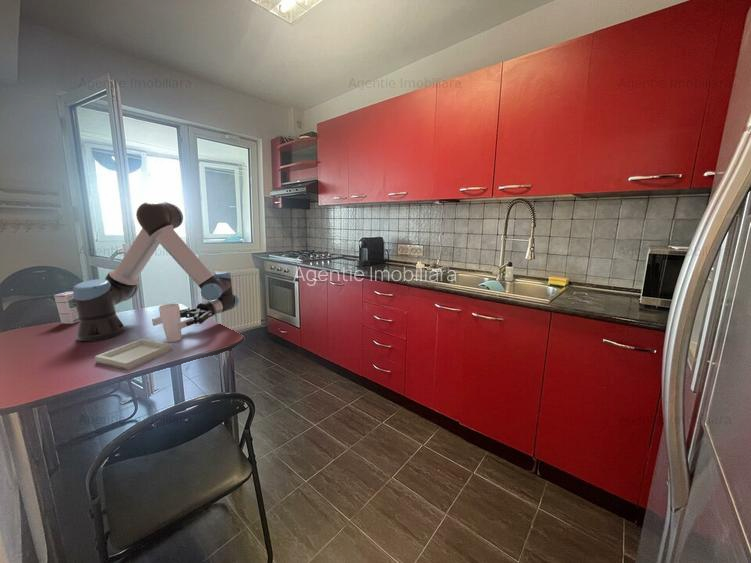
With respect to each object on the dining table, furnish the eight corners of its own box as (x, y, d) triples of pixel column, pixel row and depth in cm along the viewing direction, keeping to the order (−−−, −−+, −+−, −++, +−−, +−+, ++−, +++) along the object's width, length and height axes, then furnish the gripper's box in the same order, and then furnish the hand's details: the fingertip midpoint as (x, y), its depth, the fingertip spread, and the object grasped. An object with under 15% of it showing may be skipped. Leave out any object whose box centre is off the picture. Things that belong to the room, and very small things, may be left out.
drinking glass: (187, 338, 125) (182, 304, 122) (172, 344, 119) (166, 309, 116) (176, 335, 127) (171, 302, 124) (160, 342, 121) (154, 307, 118)
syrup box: (73, 323, 141) (66, 294, 138) (60, 323, 141) (53, 294, 138) (84, 319, 147) (78, 291, 144) (73, 319, 147) (66, 291, 144)
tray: (96, 362, 104) (94, 356, 104) (143, 344, 119) (142, 338, 119) (127, 370, 99) (126, 363, 99) (172, 349, 114) (171, 343, 114)
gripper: (231, 319, 135) (189, 337, 116) (190, 313, 143) (144, 329, 123) (229, 303, 134) (187, 319, 114) (188, 298, 141) (141, 312, 122)
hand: (165, 324), depth 119 cm, fingers open, 13 cm apart
